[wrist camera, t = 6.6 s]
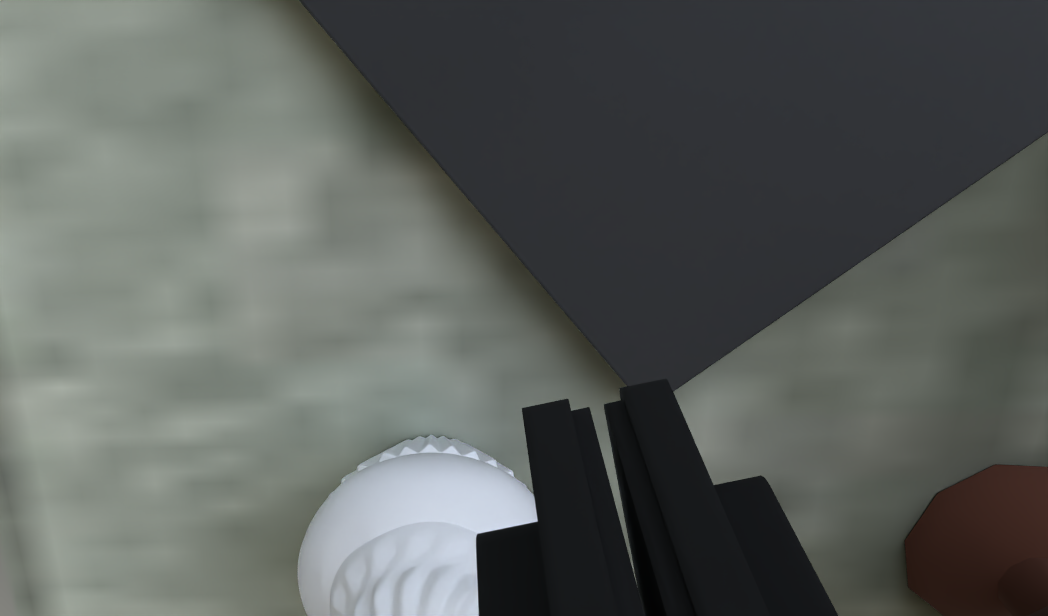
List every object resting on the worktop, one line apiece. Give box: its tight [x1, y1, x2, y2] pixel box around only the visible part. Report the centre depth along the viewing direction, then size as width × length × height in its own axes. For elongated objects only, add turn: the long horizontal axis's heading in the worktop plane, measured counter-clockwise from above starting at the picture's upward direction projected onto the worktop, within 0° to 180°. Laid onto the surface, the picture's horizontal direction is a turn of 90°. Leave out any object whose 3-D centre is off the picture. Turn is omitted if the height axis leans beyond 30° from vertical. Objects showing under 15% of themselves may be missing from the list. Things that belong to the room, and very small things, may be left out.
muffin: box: [297, 435, 538, 616], centre depth 23 cm, size 6×6×7 cm
